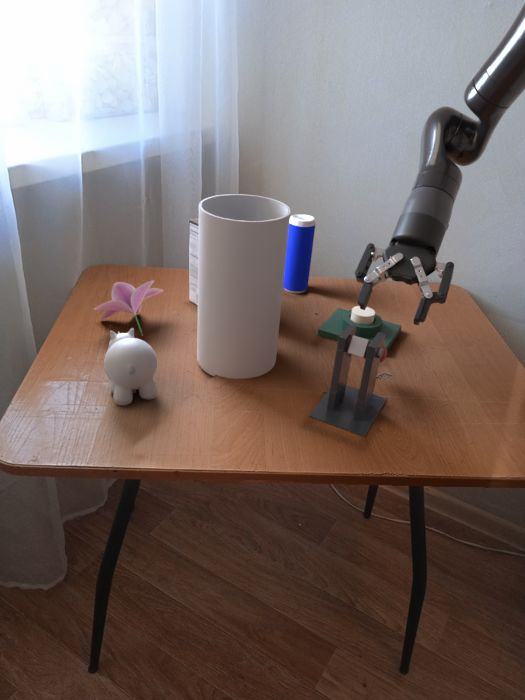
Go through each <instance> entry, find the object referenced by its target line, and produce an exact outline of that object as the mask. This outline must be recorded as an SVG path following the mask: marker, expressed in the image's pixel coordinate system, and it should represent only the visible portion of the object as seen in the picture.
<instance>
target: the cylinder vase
mask: <svg viewBox="0 0 525 700" xmlns="http://www.w3.org/2000/svg"><path fill="white" fill-rule="evenodd" d="M290 217H291V208H290V207H289V205H287V203H284V202H282V201H279V200H277V199H274V198H272V197H267V196H263V195H256V194H255V195H254V194H245V193H244V194H242V193H234V194H233V193H232V194H231V193H229V194H228V193H227V194H226V193H225V194H218V195H213V196H209V197H206V198H204V199H201V201H199V202H198V218H199V234H198V305H197V316H196V317H197V321H196V323H197V324H196V325H197V326H196V327H197V328H196V331H197V332H196V335H197V336H196V360H197V363H198V365H199V367H200V368H201V369H202V370H203V371H204V372H205V373H207V374H208V375H210V376H212V377H216V376H218V377H221V378H227V379H235V380H236V379H237V380H243V379H244V380H245V379H246V380H247V379H253V378H256V377H261V376H263V375H265V374H267V373H268V372H270V371H271V370H272V369H273V368H274V367H275V365H276V361H277V354H278V353H277V352H278V343H279V335H280V334H279V333H280V332H279V331H280V323H281V311H282V302H283V292H284V288H283V283H284V272H285V262H286V252H287V242H288V232H289V221H290Z"/></svg>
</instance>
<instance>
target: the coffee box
mask: <svg viewBox="0 0 525 700" xmlns="http://www.w3.org/2000/svg"><path fill="white" fill-rule="evenodd" d="M198 234H199V217H195V218H190V219H188V260H189V261H188V262H189V263H188V264H189V265H188V266H189V268H188V269H189V270H188V271H189V272H188V274H189V277H188V279H189V280H188V281H189V282H188V284H189V285H188V287H189V288H188V289H189V290H188V291H189V301H190V302H191V303H193V304H194V305H196V306H198Z"/></svg>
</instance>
